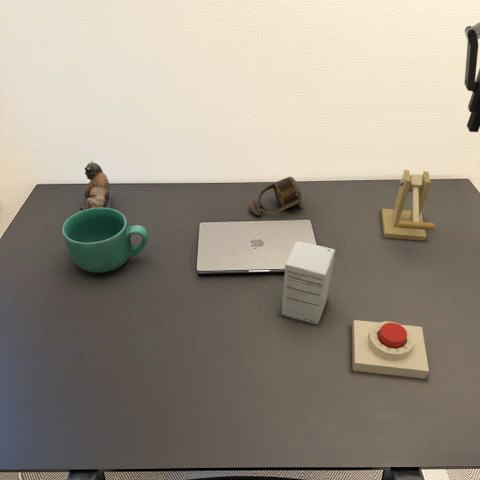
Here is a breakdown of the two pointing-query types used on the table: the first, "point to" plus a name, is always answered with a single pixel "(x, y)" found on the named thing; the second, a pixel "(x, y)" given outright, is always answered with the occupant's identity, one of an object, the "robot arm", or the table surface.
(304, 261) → the white packaging box
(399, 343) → the button
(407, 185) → the wooden lever device
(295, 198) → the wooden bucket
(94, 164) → the brown figurine
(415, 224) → the lever
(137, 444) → the table surface
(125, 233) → the mug
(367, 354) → the button base
